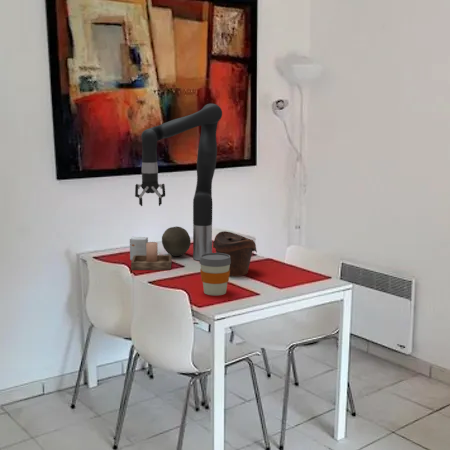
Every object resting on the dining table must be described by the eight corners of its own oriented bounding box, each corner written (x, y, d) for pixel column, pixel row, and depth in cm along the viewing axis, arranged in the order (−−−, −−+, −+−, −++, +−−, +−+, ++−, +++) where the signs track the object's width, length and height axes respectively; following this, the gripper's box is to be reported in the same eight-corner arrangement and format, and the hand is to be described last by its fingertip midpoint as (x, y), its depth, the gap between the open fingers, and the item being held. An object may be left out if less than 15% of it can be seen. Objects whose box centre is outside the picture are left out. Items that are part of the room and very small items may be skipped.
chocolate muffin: (253, 279, 272) (253, 238, 269) (208, 276, 276) (208, 236, 273) (259, 269, 290) (259, 231, 287) (217, 267, 294) (217, 229, 291)
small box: (148, 257, 309) (148, 237, 307) (146, 260, 303) (145, 239, 301) (132, 257, 309) (132, 236, 307) (129, 260, 304) (129, 238, 302)
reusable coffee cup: (193, 293, 251) (193, 257, 249) (211, 286, 262) (211, 251, 259) (219, 298, 245) (219, 261, 242) (236, 291, 255) (236, 255, 252)
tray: (171, 262, 300) (171, 255, 300) (170, 269, 286) (170, 262, 286) (133, 262, 299) (133, 255, 299) (131, 270, 285) (131, 262, 285)
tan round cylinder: (157, 262, 295) (157, 241, 293) (157, 265, 290) (157, 244, 288) (146, 262, 295) (146, 241, 293) (145, 265, 290) (145, 244, 288)
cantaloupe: (165, 252, 320) (164, 223, 317) (192, 253, 318) (192, 224, 316) (159, 259, 306) (159, 229, 303) (188, 260, 305) (188, 230, 302)
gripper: (165, 170, 299) (165, 204, 302) (135, 171, 298) (135, 204, 301) (164, 172, 292) (165, 206, 295) (134, 172, 291) (135, 207, 294)
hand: (150, 205), depth 298 cm, fingers open, 8 cm apart
